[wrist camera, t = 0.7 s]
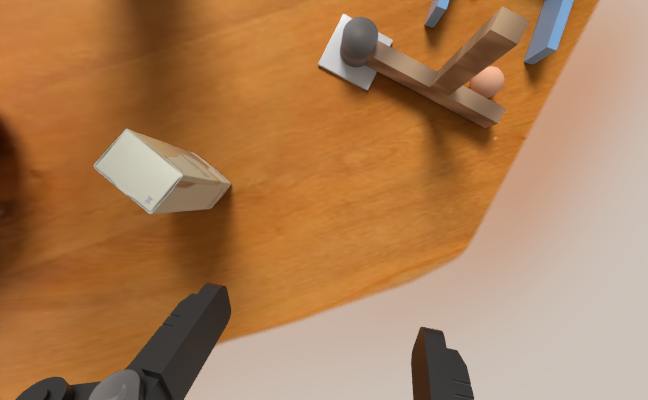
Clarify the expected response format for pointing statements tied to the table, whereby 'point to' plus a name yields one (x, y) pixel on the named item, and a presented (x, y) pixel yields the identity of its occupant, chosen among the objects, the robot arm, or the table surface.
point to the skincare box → (161, 174)
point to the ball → (487, 82)
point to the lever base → (337, 66)
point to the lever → (450, 79)
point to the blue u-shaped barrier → (545, 31)
